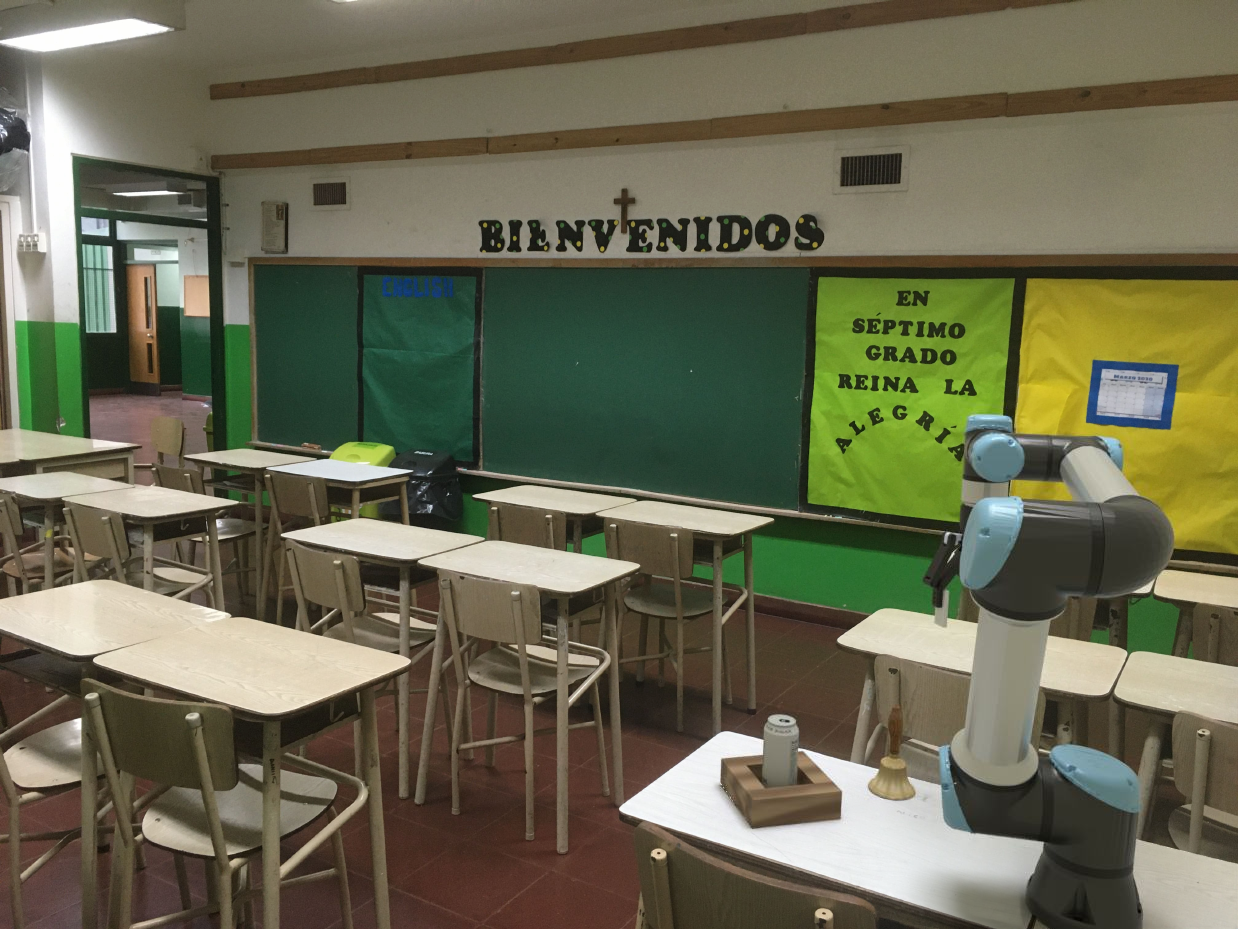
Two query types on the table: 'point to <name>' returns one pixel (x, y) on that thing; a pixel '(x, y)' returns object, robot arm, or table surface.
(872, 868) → the table surface
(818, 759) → the table surface
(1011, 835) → the robot arm
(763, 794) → the square wooden frame
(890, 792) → the hand bell
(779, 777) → the energy drink can
